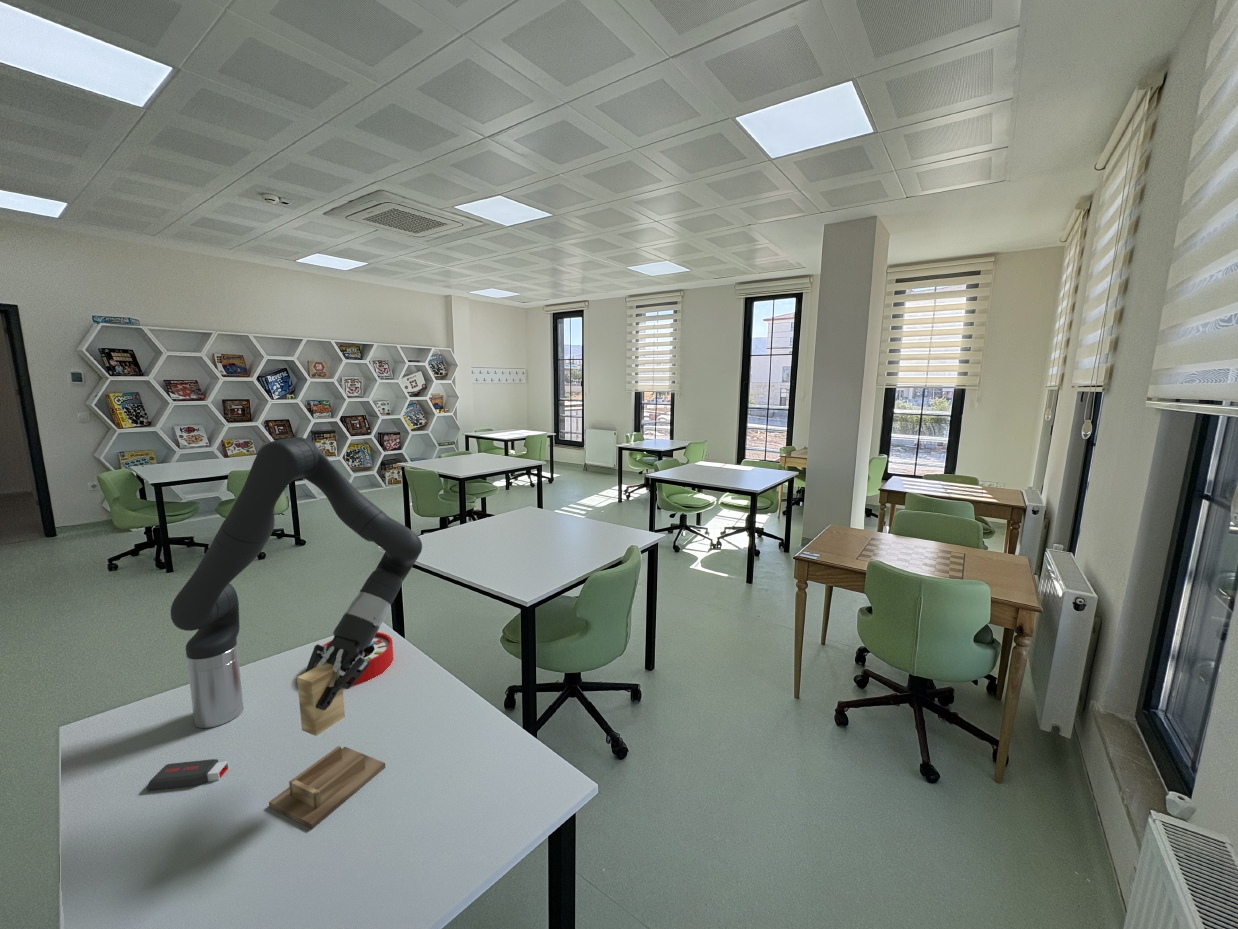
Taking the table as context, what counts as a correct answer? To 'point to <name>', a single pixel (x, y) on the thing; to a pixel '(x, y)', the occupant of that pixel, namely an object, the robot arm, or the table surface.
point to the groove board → (326, 785)
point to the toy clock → (376, 657)
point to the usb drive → (187, 774)
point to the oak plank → (309, 695)
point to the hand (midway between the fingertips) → (312, 705)
